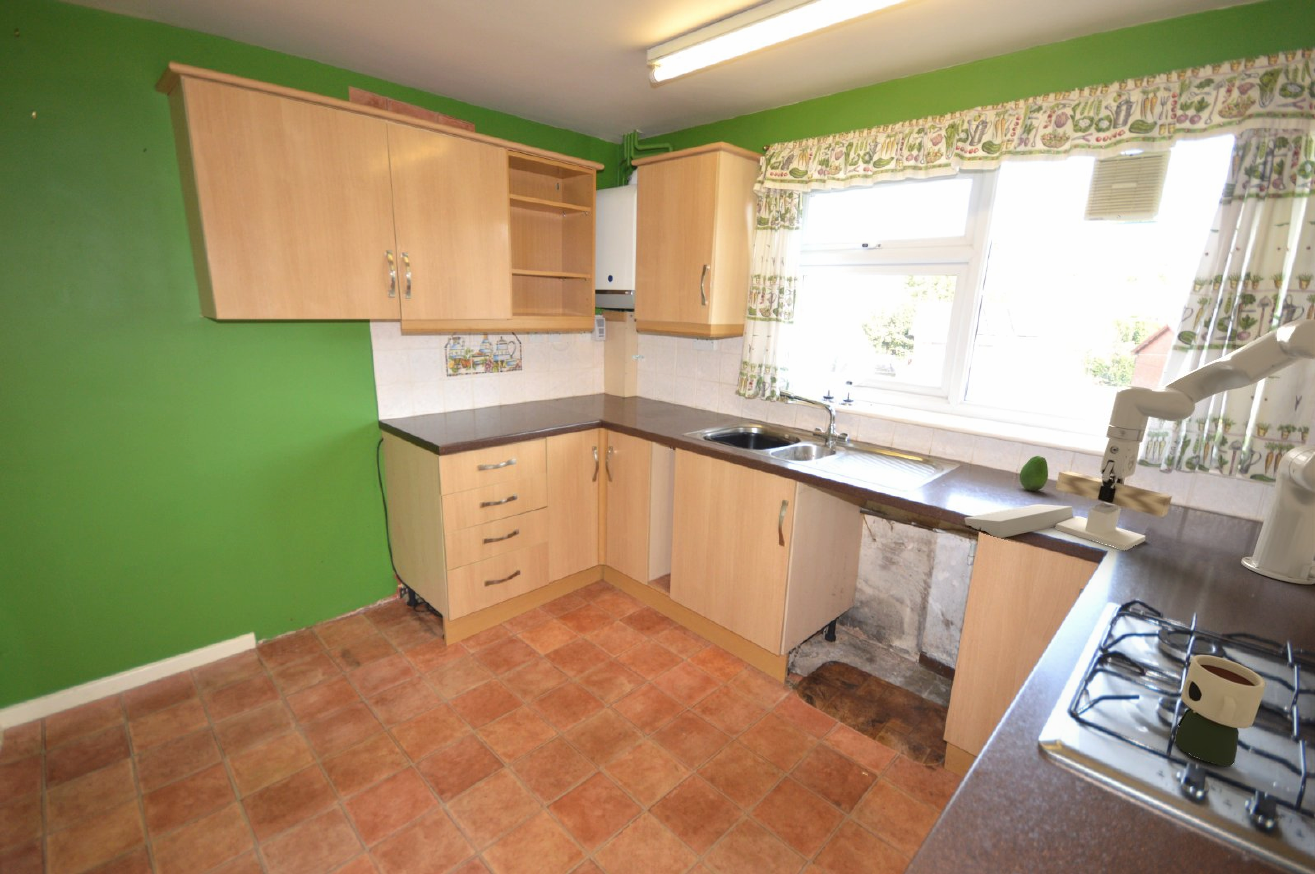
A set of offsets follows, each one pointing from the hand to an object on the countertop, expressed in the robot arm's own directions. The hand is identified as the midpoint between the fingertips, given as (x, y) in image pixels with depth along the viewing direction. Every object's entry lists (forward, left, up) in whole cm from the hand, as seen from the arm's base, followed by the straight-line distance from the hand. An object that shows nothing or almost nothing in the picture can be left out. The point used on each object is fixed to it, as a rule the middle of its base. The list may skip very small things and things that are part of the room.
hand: (1108, 499), depth 155 cm
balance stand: (0, 0, -10) cm, 10 cm away
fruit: (+29, -26, -11) cm, 40 cm away
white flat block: (+15, +12, -11) cm, 22 cm away
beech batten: (0, 0, 0) cm, 0 cm away
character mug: (-41, +83, -11) cm, 93 cm away
